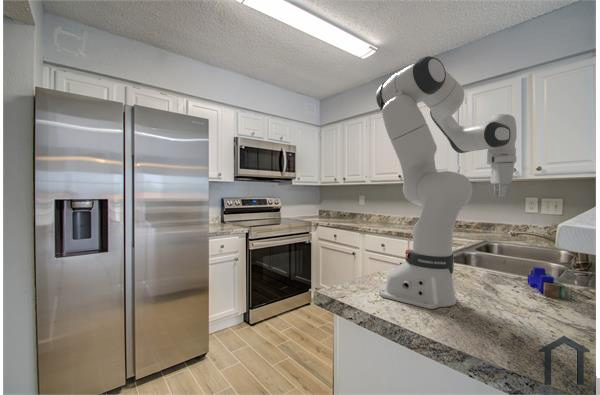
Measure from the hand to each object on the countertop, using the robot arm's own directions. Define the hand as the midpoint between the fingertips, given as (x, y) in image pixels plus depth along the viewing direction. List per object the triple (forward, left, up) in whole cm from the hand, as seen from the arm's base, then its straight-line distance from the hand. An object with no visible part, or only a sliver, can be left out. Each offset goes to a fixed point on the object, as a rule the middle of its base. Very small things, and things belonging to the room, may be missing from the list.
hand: (499, 195), depth 108 cm
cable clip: (+11, -8, -32) cm, 34 cm away
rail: (+13, -7, -31) cm, 34 cm away
